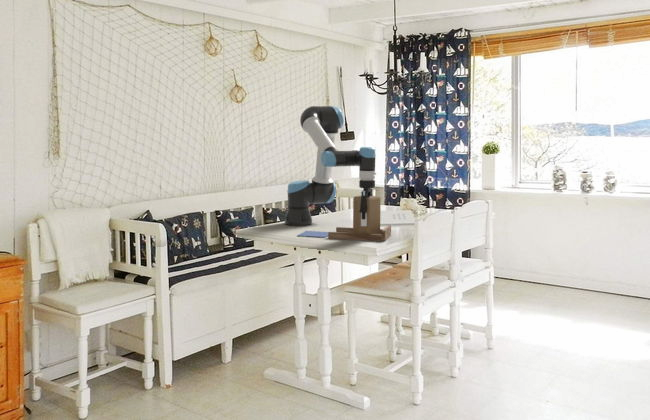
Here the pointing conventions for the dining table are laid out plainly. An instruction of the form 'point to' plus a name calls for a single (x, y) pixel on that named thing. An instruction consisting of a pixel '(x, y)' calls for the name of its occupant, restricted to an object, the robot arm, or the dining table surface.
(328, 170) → the robot arm
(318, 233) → the blue square plate
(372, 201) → the wooden block
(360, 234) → the frame
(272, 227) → the dining table surface
